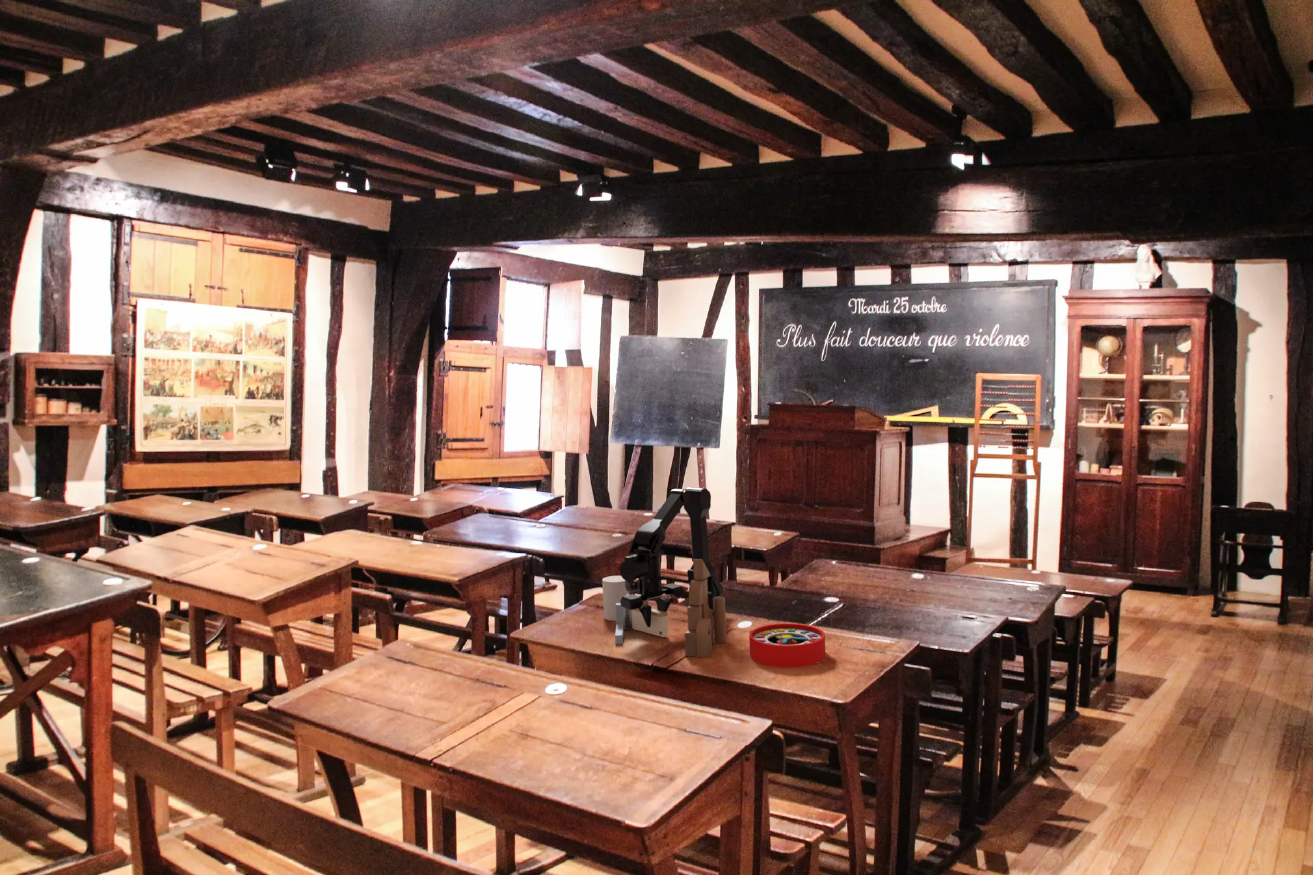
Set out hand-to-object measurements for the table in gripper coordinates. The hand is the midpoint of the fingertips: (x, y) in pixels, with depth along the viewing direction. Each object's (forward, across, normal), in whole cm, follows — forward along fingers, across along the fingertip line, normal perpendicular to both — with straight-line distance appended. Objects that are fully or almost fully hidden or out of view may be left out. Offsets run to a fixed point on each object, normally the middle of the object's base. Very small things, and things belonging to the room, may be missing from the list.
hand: (654, 625), depth 281 cm
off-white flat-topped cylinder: (+4, -2, -24) cm, 24 cm away
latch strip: (+3, +8, -6) cm, 11 cm away
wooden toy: (+3, -4, +19) cm, 20 cm away
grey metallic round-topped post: (+3, +1, -12) cm, 12 cm away
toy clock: (+4, -17, +38) cm, 41 cm away
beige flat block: (+3, 0, -3) cm, 4 cm away
